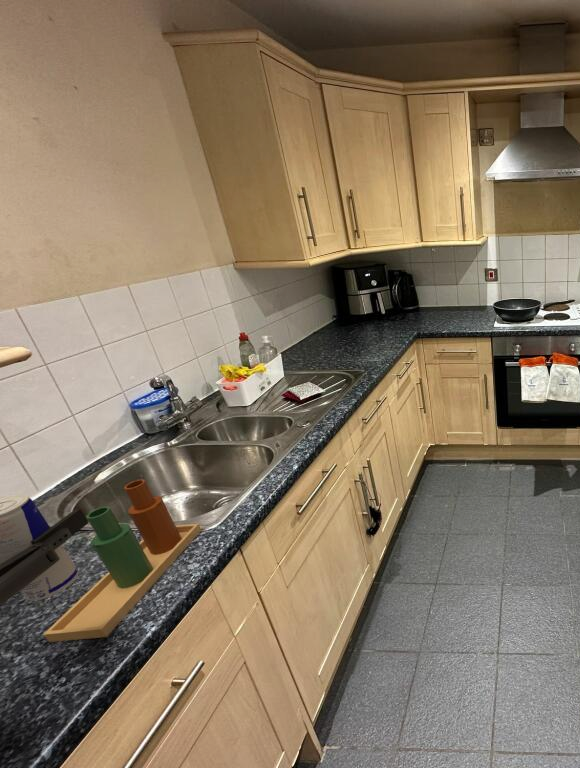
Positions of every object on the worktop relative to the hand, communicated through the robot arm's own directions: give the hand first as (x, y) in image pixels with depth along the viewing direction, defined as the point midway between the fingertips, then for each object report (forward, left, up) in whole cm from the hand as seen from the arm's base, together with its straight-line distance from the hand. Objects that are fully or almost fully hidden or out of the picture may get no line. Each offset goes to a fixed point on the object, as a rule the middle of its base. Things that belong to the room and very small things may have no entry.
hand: (60, 518), depth 61 cm
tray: (-4, +8, -22) cm, 23 cm away
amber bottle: (-4, +16, -22) cm, 27 cm away
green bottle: (-4, +8, -22) cm, 23 cm away
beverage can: (0, -5, -9) cm, 10 cm away
